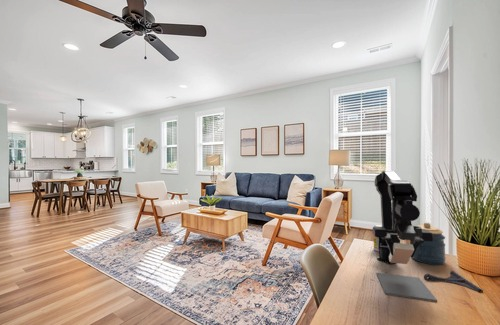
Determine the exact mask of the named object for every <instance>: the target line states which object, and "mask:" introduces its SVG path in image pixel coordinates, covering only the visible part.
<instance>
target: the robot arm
mask: <svg viewBox="0 0 500 325" xmlns="http://www.w3.org/2000/svg"><path fill="white" fill-rule="evenodd" d="M374 186H375V188H376V189H375V190H376V191H377V193H378V194H379V196H380V213H381V214H380V216H381V225H382V227H377V226H376V225H374V226H373V227H372V234H373V237H374V236H375V237H377V239H376V245H377V247H378V248H379V251H378V257H376V260H378V261H380V262H382V263H386V264H388V265H392V264H393V265H394V263H391V262H390V261H389V255H390V253H391V255H392V256H393V244H394V243H401V240H402V241H405V240H406V241H409V242H410V243H409V244H413V247H414V251H413V253H412V255H411V257H410V258H412V259H413V256H414V254H415V251H416V249H417V247H418V246H419V244H421V243H424V242H425V241H432V242H433V241H434V236H433V234H432V233H431V232H429V231H428V230H422V228H421V227H420V226H418V225H413V224H412V222H414V221H416V220H417V219H419V217H420V215H421V214H420V213H421V212H420V209H419V207H418V206H416V205H415V204H413V203H414V202H418V200H417V198H418V195H417V192H416V190H415V187H414V186H413V184H412V183H411V182H410V181H408V180H404V179H401V178H400V177H399V176H398V175H397V173H396V170H393V169H392V170H390V169H389V170H388V169H386V170H382V171H381V173H379V174H377V175H376V176H375V178H374ZM423 240H424V241H423Z"/></svg>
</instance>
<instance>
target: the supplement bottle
mask: <svg viewBox="0 0 500 325" xmlns="http://www.w3.org/2000/svg"><path fill="white" fill-rule="evenodd" d="M375 226H377V227H382V224H375ZM376 239H377V237H375V236H374V235H373V250H374V251H376V252H379V248H378V247H377V245H376Z"/></svg>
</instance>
